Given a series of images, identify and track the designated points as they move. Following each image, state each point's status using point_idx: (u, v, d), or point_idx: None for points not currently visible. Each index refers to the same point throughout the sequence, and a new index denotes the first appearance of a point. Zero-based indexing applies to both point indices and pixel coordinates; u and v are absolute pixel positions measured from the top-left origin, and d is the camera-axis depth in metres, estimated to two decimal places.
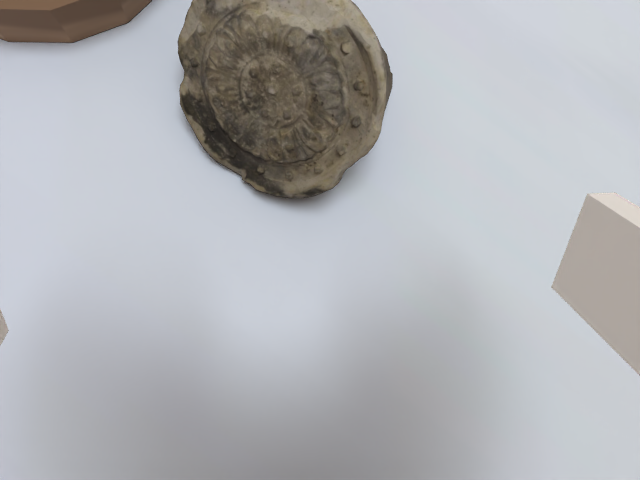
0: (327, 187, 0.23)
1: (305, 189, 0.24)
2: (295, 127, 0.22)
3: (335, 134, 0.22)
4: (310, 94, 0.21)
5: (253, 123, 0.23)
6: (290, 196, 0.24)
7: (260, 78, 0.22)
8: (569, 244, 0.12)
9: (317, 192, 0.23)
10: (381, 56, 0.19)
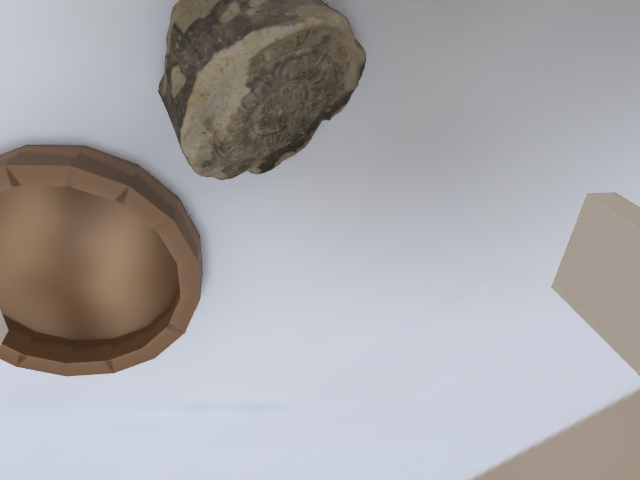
0: (364, 57, 0.24)
1: (357, 75, 0.25)
2: (310, 89, 0.24)
3: (328, 56, 0.22)
4: (292, 81, 0.22)
5: (296, 120, 0.25)
6: (356, 85, 0.26)
7: (267, 121, 0.24)
8: (569, 244, 0.12)
9: (363, 65, 0.25)
10: (286, 25, 0.18)
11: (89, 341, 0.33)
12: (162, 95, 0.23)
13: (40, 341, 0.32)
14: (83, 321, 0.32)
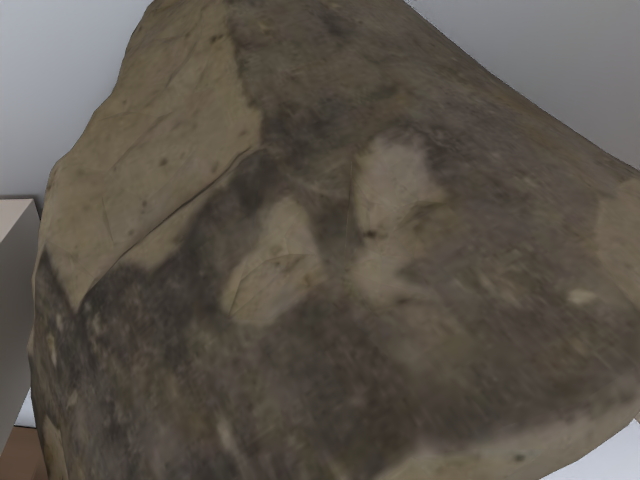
0: None
1: None
2: None
3: None
4: None
5: None
6: None
7: None
8: None
9: None
10: (617, 406, 0.03)
11: None
12: None
13: None
14: None
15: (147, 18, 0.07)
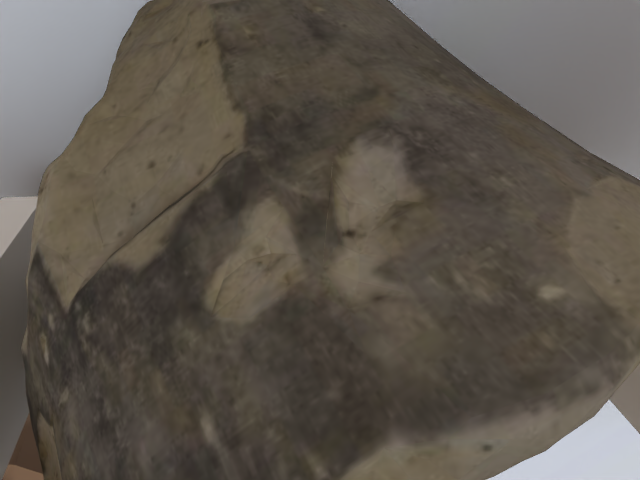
0: None
1: None
2: None
3: None
4: None
5: None
6: None
7: None
8: None
9: None
10: (581, 397, 0.03)
11: None
12: None
13: None
14: None
15: (137, 23, 0.07)
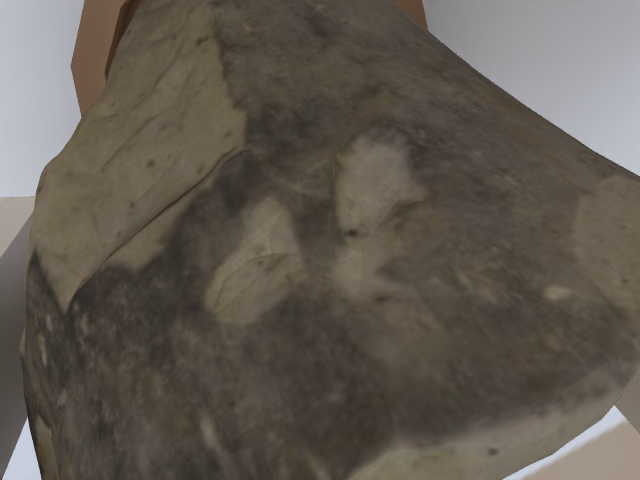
0: None
1: None
2: None
3: None
4: None
5: None
6: None
7: None
8: None
9: None
10: (589, 400, 0.03)
11: None
12: None
13: None
14: None
15: (136, 21, 0.07)
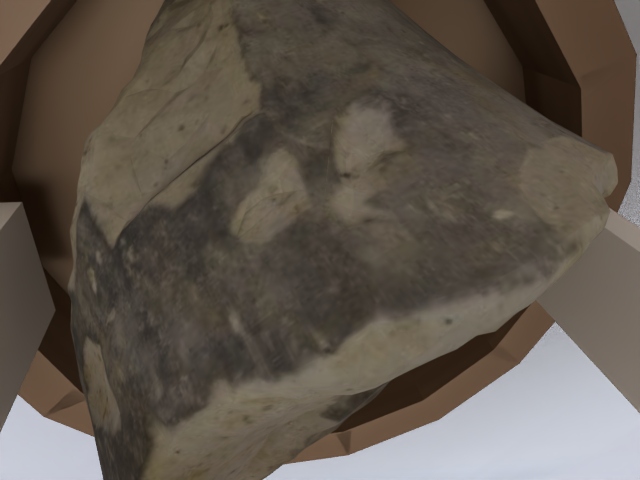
0: None
1: None
2: None
3: None
4: None
5: None
6: None
7: None
8: None
9: None
10: (520, 285, 0.04)
11: None
12: None
13: None
14: None
15: (163, 12, 0.08)
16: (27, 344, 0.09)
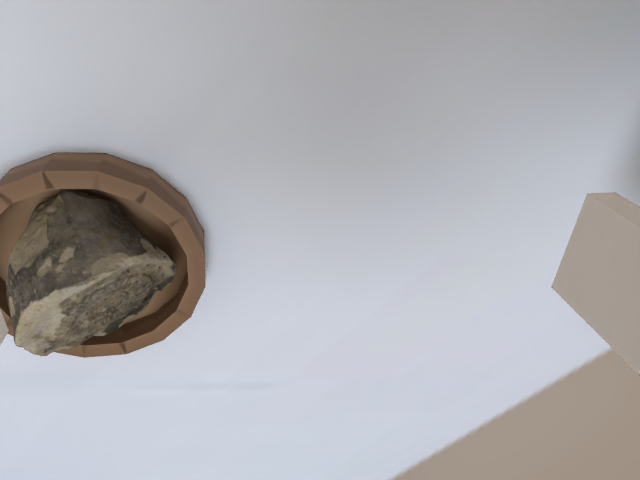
0: (171, 263, 0.32)
1: (171, 269, 0.33)
2: (128, 290, 0.31)
3: (133, 275, 0.30)
4: (106, 295, 0.30)
5: (124, 304, 0.33)
6: (175, 272, 0.34)
7: (95, 315, 0.31)
8: (569, 244, 0.12)
9: (174, 265, 0.32)
10: (80, 285, 0.26)
11: None
12: None
13: None
14: None
15: (34, 212, 0.29)
16: None
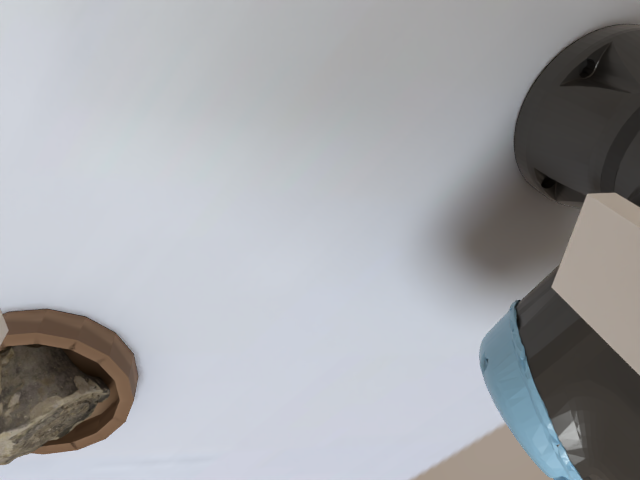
0: (101, 391, 0.41)
1: (104, 392, 0.42)
2: (68, 414, 0.41)
3: (69, 406, 0.39)
4: None
5: (69, 420, 0.42)
6: (109, 392, 0.43)
7: (43, 433, 0.41)
8: (569, 244, 0.12)
9: (105, 390, 0.42)
10: (21, 428, 0.36)
11: None
12: None
13: None
14: None
15: None
16: None
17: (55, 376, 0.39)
